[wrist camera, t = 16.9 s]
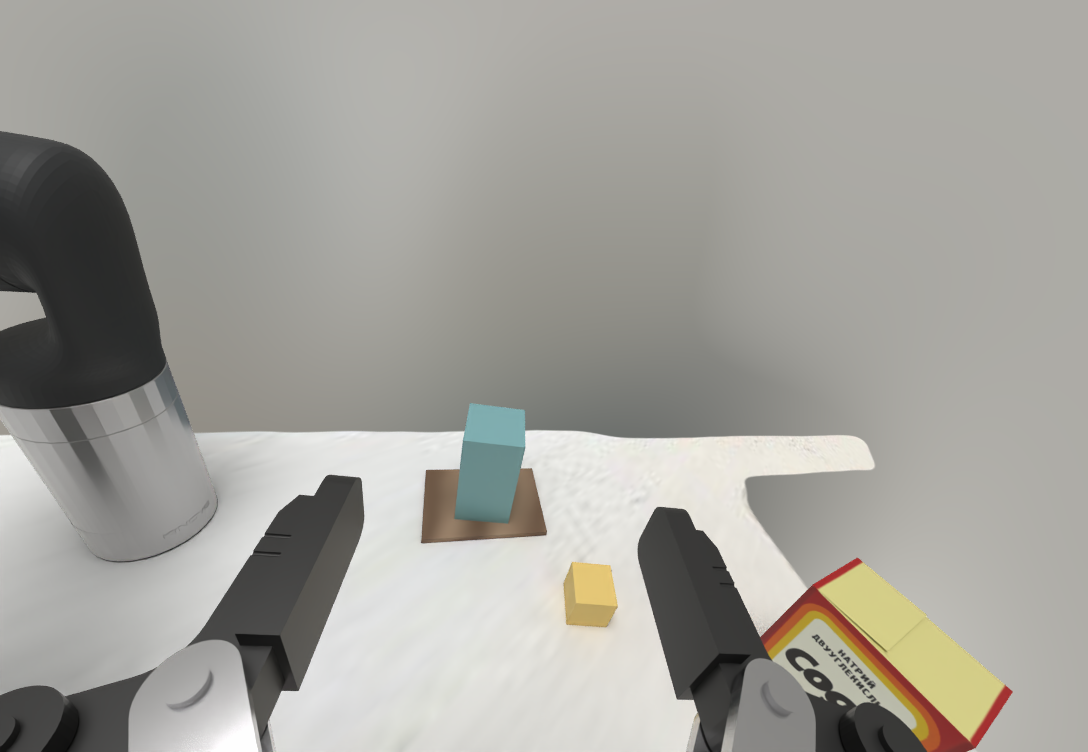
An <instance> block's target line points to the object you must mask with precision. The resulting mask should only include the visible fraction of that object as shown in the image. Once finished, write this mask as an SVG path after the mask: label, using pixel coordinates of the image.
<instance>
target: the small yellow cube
mask: <svg viewBox="0 0 1088 752" xmlns="http://www.w3.org/2000/svg"><path fill="white" fill-rule="evenodd" d="M564 596H565V610H566V624H567V625H581V626H596V627H607V625H608V623H609V621H610V619H611V618H612V616H613V614H614V612H615V610H616V609H617V607H618V605H617V599H616V594H615V589H614V583H613V578H612V572H611V567H610V565H599V564H588V563H577V562H572V564H571V566H570V569H569V571H568V574H567V576H566V579H565V581H564Z"/></svg>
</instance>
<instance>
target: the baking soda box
mask: <svg viewBox="0 0 1088 752" xmlns="http://www.w3.org/2000/svg"><path fill="white" fill-rule="evenodd" d="M760 638H761V640H762V643H763V645H764V647H765V649H766V651H767V653H768V654H769V656H770V658H771V659H772V661H773V662H775V663H777V664H779V665H780V666H782V667H783V668H784V669H786V670H787V671H788V672H789V673H790V674H791V675H792V676H793V677H794V678H795V679H796V680H797V681H798V682H799V684H800V685H801V686H802V688H803V689H804V691H806V692H808V693H810V694H812V695H815V696H817V697H819V698H822V699H824V700H827V701H829V702H831V703H834V704H836V705H838V706H841V707H843V708H846V709H848V710H851V709H853V708H854V707H856V706H858V705H859V704H861V703H864V702H870V703H875V704H877V705H880V706H882V707H884V708H886V709H887V710H889V711H890V712H892V713H893V714H894V715H896V716H897V717H898V718H899V719H901V720H902V721H903V722H904V723H905V724H906V725H907V726H908V727H909V728H910V729H911V731H912V732H913V733H914V734H915V735H916V737H917V738H918V739H919V740H920V742H921V743H922V745H923V746H924V748H925V749H926V751H927V752H967V751H969V750H972V749H974V748H976V746H977V745H978V743H979V742H980V740H981V739H982V737H983V736H984V734H985V733H986V731H987V730H988V728H989V727H990V725H991V724H992V722H993V721H994V719H995V718H996V716H997V715H998V713H999V712H1000V710H1001V709H1002V707H1003V706H1004V704H1005V703H1006V701H1007V700H1008V698H1009V696H1010V695H1011V694H1012V691H1011V690H1010V689H1009V688H1008V687H1007V686H1006V685H1004V684H1003V683H1002V682H1001V681H1000V680H999V679H997V678H996V677H995V676H994V675H993V674H992V673H990V672H989V671H988V670H987V669H986V668H985V667H984V666H982V665H981V664H980V663H979V662H978V661H977V660H975V659H974V658H973V657H972V656H971V655H970V654H968V653H967V652H966V651H965V650H964V649H963V648H962V647H960V646H959V645H958V644H957V643H956V642H955V641H953V640H952V639H951V638H950V637H949V636H948V635H946V634H945V633H944V632H943V631H942V630H941V629H939V628H938V627H937V626H936V625H935V624H934V623H933V622H931V621H930V620H929V619H928V618H927V617H926V614H925V613H924V612H922V611H921V610H920V609H919V608H918V607H916V606H915V605H914V604H913V603H912V602H910V601H909V600H908V599H907V598H906V597H904V596H903V595H902V594H901V593H899V592H898V591H897V590H896V589H895V588H894V587H892V586H891V585H890V584H889V583H887V582H886V581H885V580H884V579H883V578H881V577H880V576H879V575H878V574H877V573H875V572H874V571H873V570H872V569H870V568H869V567H868V566H867V565H866V564H864V563H863V562H862V561H861V560H860V559H859V558H856V559H854V560H853V561H851V562H849V563H848V564H846V565H845V566H843V567H841V568H839V569H838V570H837V571H835V572H833V573H831V574H830V575H828V576H826V577H825V578H823V579H821V580H820V581H818V582H816V583H815V584H813V585H812V586H811V587H810V588H809V589H808V590H807V591H806V592H805V593H804V594H803V595H802V596H801V597H800V598H799V599H798V600H797V601H796V602H795V603H794V604H793V605H792V606H791V607H790V608H789V609H788V610H787V611H786V612H785V613H784V614H783V615H782V616H781V617H780V618H779V619H778V620H777V621H776V622H775V623H774V624H773V625H772V626H771V627H770V628H769V629H768V630H767V631H766V632H765V633H764V634H763V635H762V636H761V637H760Z"/></svg>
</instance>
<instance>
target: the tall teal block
mask: <svg viewBox="0 0 1088 752" xmlns="http://www.w3.org/2000/svg"><path fill="white" fill-rule="evenodd" d="M524 451H525V410H519V409H510V408H503V407H494V406H487V405H479V404H472V403H470V407H469V412H468V417H467V423H466V428H465V433H464V438H463V445H462V454H461V463H460V472H459V481H458V490H457V499H456V508H455V517H454V519H458V520H470V521H482V522H494V523H506V524H508V522H509V517H510V513H511V508H512V504H513V499H514V495H515V491H516V486H517V482H518V477H519V473H520V468H521V464H522V460H523V455H524Z"/></svg>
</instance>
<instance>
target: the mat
mask: <svg viewBox="0 0 1088 752" xmlns="http://www.w3.org/2000/svg"><path fill="white" fill-rule="evenodd" d="M459 472H460V470H426V479H425V494H424V509H423V525H422V540H421V543H431V542H447V541H462V540H478V539H493V538H508V537H524V536H539V535H546V533H547V530H546V526H545V522H544V517H543V513H542V509H541V505H540V501H539V496H538V492H537V488H536V484H535V480H534V476H533V471H532V468H530V469H520V473H519V477H518V482H517V486H516V491H515V495H514V499H513V504H512V508H511V513H510V517H509V522H508V524H506V523H494V522H482V521H470V520H458V519H454V517H455V508H456V499H457V490H458V481H459Z"/></svg>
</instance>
